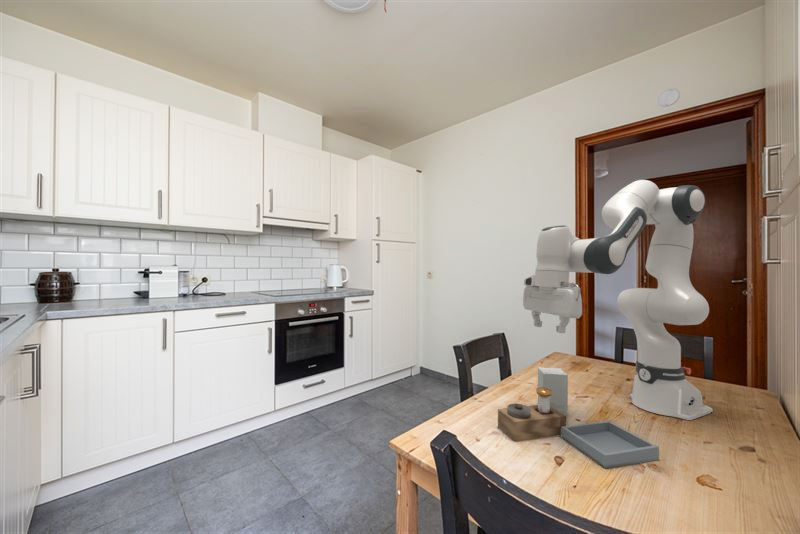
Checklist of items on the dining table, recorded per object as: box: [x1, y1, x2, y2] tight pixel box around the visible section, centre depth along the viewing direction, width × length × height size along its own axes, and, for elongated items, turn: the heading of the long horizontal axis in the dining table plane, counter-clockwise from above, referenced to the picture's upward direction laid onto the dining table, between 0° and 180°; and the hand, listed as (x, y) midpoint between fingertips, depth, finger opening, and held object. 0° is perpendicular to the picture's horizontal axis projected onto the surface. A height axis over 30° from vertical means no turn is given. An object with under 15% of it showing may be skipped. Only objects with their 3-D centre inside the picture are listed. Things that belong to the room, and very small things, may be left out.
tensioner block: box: [497, 403, 567, 443], centre depth 89 cm, size 16×8×7 cm, turn 104°
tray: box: [560, 420, 660, 470], centre depth 80 cm, size 16×14×3 cm
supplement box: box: [537, 366, 569, 416], centre depth 102 cm, size 7×7×13 cm
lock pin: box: [535, 386, 552, 415], centre depth 90 cm, size 4×4×11 cm
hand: (548, 329), depth 91 cm, fingers open, 8 cm apart
